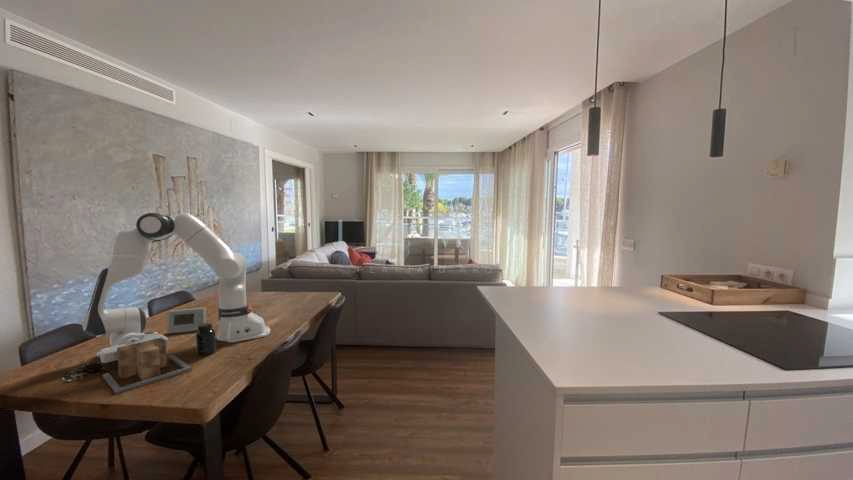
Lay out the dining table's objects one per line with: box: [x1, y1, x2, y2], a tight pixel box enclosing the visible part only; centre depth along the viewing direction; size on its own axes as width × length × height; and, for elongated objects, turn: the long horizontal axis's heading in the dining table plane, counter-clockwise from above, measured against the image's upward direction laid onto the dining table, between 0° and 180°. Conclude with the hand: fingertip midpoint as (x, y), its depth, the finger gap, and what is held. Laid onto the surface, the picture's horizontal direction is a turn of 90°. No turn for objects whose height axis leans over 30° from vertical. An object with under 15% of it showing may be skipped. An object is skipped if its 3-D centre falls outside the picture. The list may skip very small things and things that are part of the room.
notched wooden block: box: [117, 337, 168, 381], centre depth 124 cm, size 13×12×10 cm
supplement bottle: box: [195, 322, 217, 357], centre depth 142 cm, size 7×7×12 cm
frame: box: [102, 354, 192, 394], centre depth 124 cm, size 21×18×1 cm
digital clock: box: [166, 307, 207, 335], centre depth 170 cm, size 16×9×11 cm, turn 101°
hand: (141, 353), depth 129 cm, fingers closed
